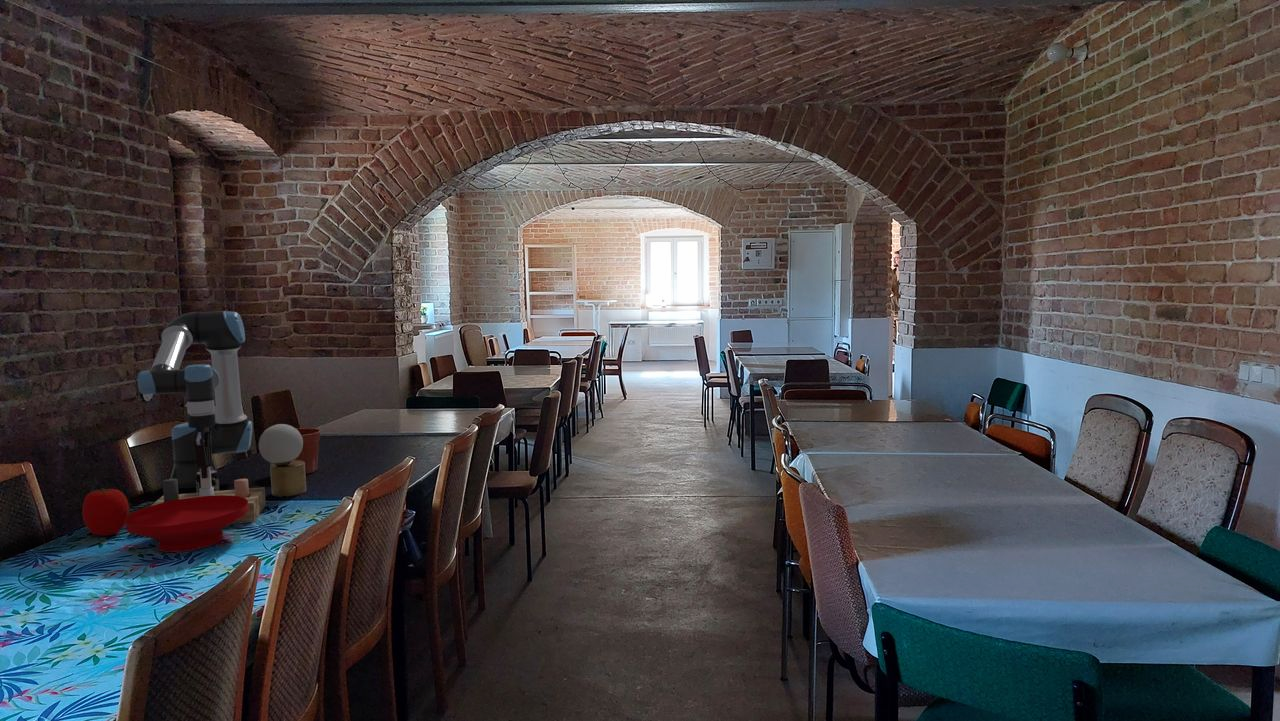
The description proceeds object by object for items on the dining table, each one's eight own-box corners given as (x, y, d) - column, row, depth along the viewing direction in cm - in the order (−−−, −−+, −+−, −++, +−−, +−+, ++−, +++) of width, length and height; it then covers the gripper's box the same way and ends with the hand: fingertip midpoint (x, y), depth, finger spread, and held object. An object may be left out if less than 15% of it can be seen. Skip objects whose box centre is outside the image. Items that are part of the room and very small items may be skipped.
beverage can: (210, 510, 253) (208, 474, 252) (193, 509, 255) (190, 473, 254) (224, 504, 260) (222, 469, 259) (208, 504, 261) (205, 469, 260)
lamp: (284, 501, 263) (280, 428, 261) (252, 498, 268) (247, 427, 265) (316, 490, 277) (312, 421, 275) (285, 487, 282) (281, 419, 280)
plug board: (164, 513, 250) (162, 495, 250) (265, 504, 259) (264, 487, 259) (144, 531, 231) (143, 512, 231) (254, 521, 240) (253, 502, 239)
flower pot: (312, 476, 298) (310, 435, 296) (270, 477, 298) (267, 436, 296) (330, 466, 314) (327, 427, 313) (289, 467, 314) (287, 428, 313)
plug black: (166, 507, 243) (164, 479, 242) (181, 506, 244) (178, 478, 244) (162, 510, 239) (160, 482, 239) (177, 509, 241) (175, 481, 240)
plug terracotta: (237, 506, 249) (235, 479, 248) (250, 505, 250) (249, 478, 250) (234, 510, 245) (232, 482, 245) (248, 508, 247) (246, 481, 246)
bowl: (273, 531, 230) (271, 499, 229) (183, 567, 201) (181, 529, 200) (196, 523, 240) (194, 491, 239) (100, 555, 211) (97, 519, 210)
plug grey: (202, 514, 246) (201, 487, 246) (216, 513, 248) (215, 486, 247) (199, 518, 243) (197, 490, 242) (214, 517, 244) (212, 489, 243)
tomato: (73, 537, 227) (69, 490, 226) (111, 526, 238) (107, 481, 237) (103, 541, 223) (99, 493, 222) (140, 529, 234) (137, 484, 232)
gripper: (193, 411, 247) (198, 483, 249) (182, 417, 235) (187, 493, 237) (219, 410, 249) (224, 481, 252) (209, 416, 237) (214, 491, 239)
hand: (206, 487), depth 244 cm, fingers closed
